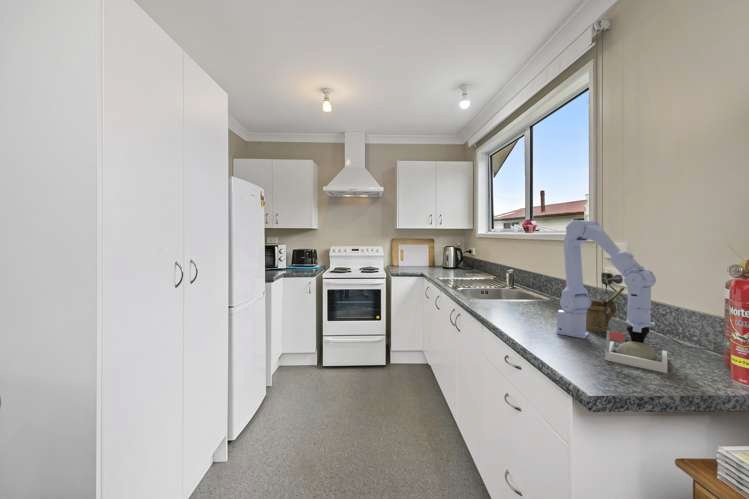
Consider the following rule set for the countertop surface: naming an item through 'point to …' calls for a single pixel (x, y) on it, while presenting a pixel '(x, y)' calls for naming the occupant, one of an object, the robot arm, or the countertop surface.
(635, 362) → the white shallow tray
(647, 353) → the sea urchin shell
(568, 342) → the countertop surface
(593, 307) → the wooden mug
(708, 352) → the countertop surface
